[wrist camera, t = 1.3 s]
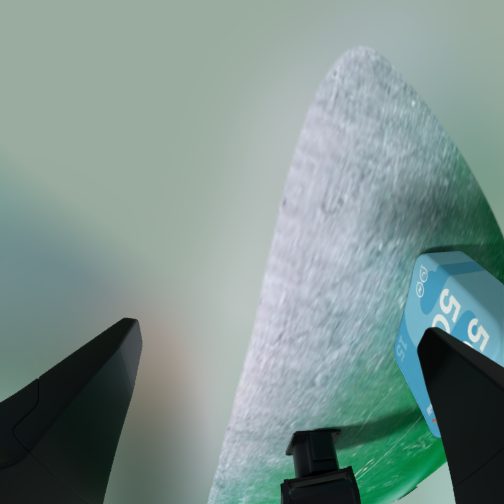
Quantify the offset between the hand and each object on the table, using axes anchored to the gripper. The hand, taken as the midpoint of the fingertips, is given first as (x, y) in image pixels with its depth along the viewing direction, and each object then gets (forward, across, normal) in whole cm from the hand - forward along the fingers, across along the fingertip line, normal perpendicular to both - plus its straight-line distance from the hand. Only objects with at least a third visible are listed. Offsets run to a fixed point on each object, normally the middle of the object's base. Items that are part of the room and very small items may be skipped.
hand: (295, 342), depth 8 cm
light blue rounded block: (+14, -16, +8) cm, 22 cm away
